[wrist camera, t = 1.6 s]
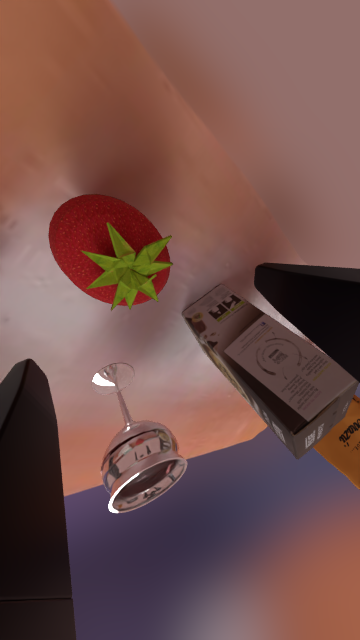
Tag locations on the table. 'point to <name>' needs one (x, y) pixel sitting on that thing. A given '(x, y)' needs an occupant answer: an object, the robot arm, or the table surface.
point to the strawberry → (109, 250)
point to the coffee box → (272, 368)
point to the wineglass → (136, 450)
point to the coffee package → (344, 444)
